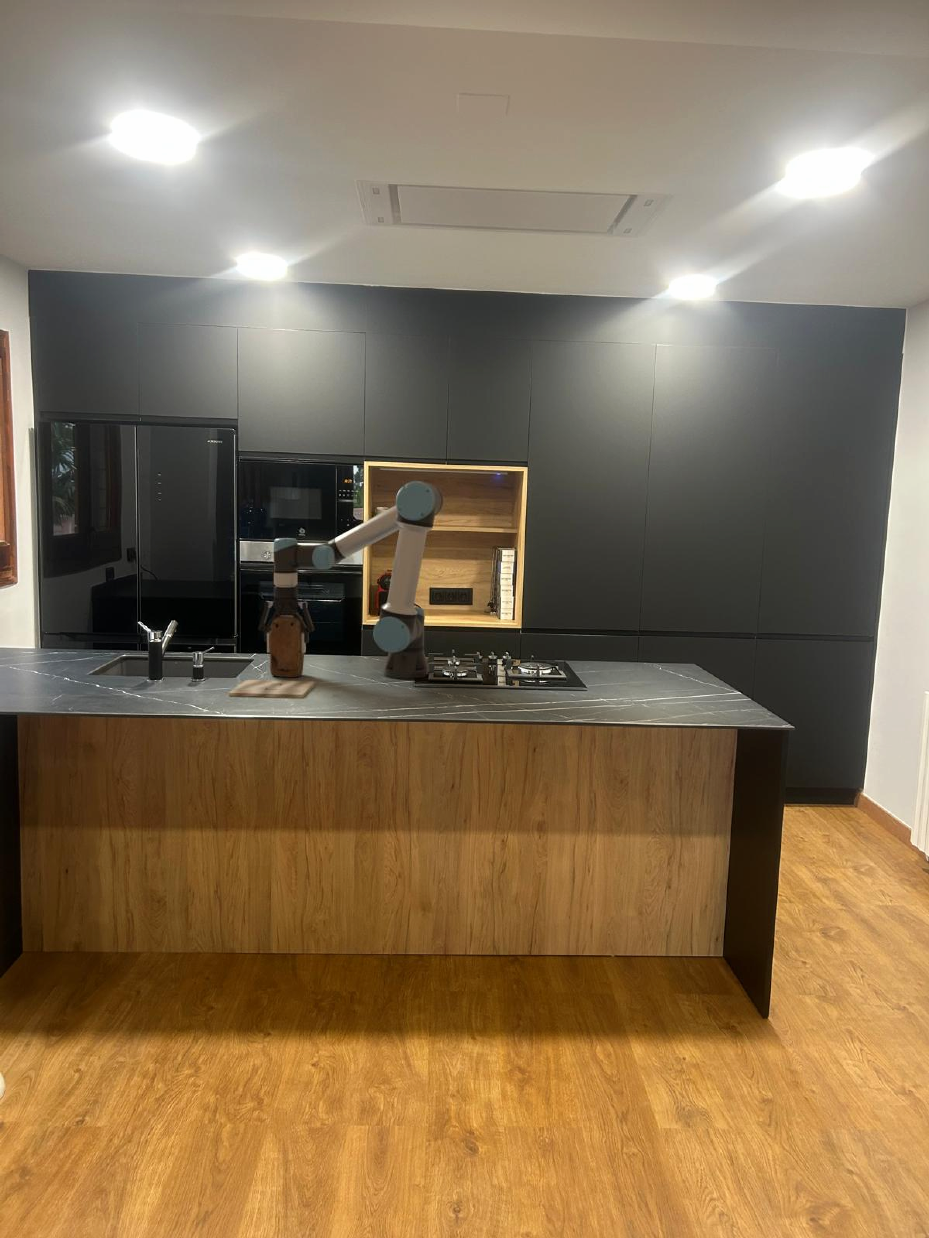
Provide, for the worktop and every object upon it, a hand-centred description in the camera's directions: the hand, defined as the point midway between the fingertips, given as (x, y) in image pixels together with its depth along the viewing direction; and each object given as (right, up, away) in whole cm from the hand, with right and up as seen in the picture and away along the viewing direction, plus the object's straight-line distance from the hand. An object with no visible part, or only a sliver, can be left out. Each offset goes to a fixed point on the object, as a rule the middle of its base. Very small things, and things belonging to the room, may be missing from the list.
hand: (286, 652), depth 277 cm
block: (0, -8, +1) cm, 8 cm away
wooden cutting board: (0, -11, -20) cm, 22 cm away
